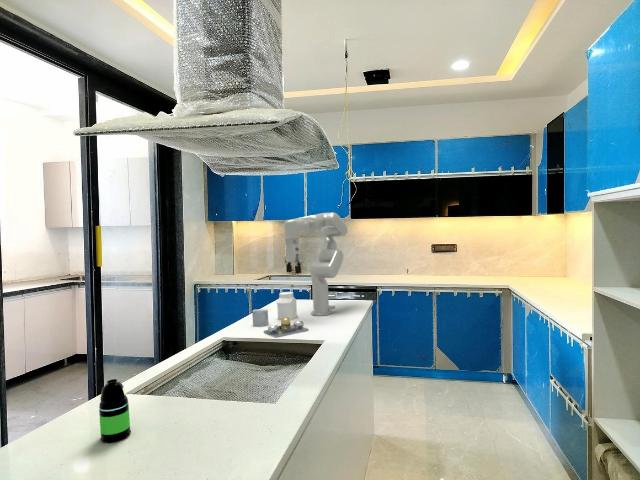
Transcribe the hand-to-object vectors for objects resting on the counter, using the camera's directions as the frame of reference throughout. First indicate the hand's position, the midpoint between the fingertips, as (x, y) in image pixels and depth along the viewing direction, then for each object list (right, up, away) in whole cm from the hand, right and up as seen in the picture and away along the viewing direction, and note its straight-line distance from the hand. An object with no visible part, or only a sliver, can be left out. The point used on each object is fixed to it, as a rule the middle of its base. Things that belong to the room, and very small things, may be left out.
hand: (293, 272), depth 232 cm
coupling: (-3, -28, -18) cm, 33 cm away
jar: (-5, -28, +15) cm, 32 cm away
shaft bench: (-3, -29, -18) cm, 34 cm away
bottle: (-39, -34, -122) cm, 132 cm away
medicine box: (-18, -30, 0) cm, 35 cm away
